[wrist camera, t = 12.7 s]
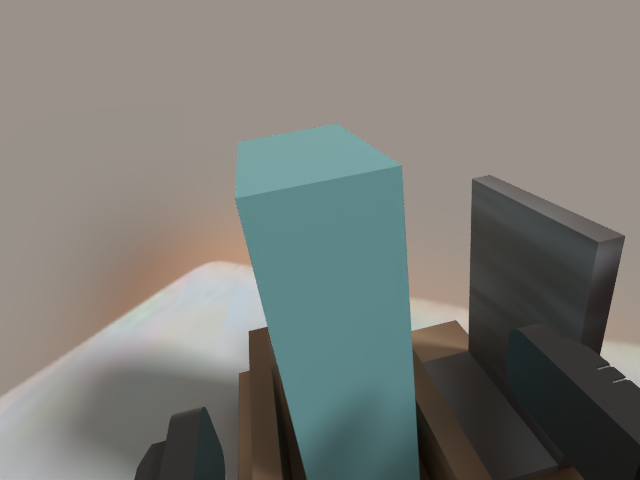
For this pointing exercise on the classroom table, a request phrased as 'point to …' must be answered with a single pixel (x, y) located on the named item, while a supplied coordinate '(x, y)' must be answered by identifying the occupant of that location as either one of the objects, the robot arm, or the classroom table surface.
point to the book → (335, 296)
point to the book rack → (470, 348)
